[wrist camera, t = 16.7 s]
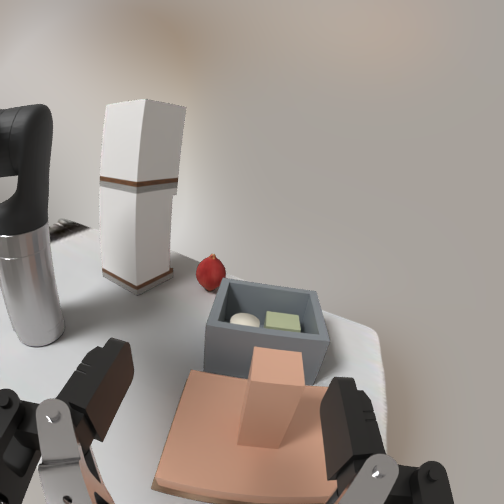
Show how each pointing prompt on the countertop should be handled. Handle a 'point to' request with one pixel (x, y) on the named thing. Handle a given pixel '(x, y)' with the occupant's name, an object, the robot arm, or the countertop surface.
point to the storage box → (263, 327)
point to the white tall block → (138, 191)
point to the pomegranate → (210, 272)
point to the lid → (249, 435)
